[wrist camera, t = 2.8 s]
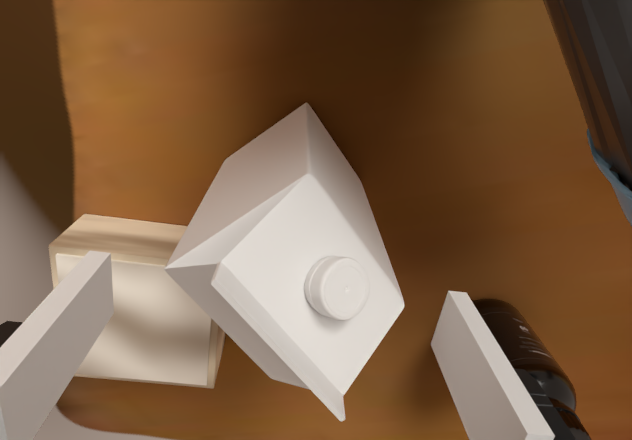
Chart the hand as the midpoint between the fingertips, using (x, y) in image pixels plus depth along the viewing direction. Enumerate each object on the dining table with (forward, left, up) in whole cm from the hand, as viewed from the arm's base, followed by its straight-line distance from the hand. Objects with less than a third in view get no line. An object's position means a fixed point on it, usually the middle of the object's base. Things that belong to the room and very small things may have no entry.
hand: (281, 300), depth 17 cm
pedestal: (+11, -9, -16) cm, 21 cm away
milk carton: (0, 0, -16) cm, 16 cm away
